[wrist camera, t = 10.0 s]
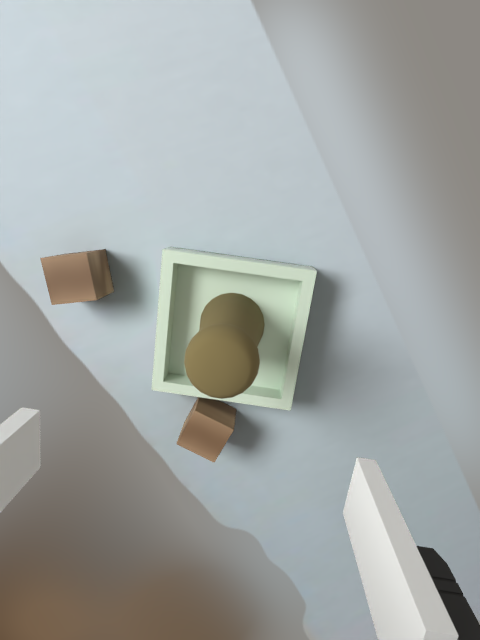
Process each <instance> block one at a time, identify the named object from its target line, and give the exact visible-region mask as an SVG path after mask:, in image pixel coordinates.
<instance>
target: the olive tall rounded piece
mask: <svg viewBox="0 0 480 640" xmlns="http://www.w3.org/2000/svg"><path fill="white" fill-rule="evenodd" d="M264 327H265V323H264V316H263V314H262V312H261V310H260V308H259V306H258V305H257V304H256V303H255V302H254V301H253V300H252V299H251V298H249V297H247V296H245V295H243V294H238V293H226V294H221V295H219V296H217V297H215V298H213V299H212V300H211V301H210V302H209V303H208V304H207V305H206V306H205V308H204V310H203V312H202V314H201V319H200V328H199V332H198V333H197V334H196V335H195V336H194V337H193V338H192V339H191V340H190V342H189V344H188V346H187V349H186V351H185V359H184V365H185V369H186V374H187V376H188V378H189V380H190V382H191V383H192V385H193V386H194V387H195V388H197V389H198V390H199V391H200V392H201V393H203V394H205V395H208V396H210V397H214V398H220V399H224V398H232V397H235V396H237V395H239V394H241V393H243V392H244V391H245V390H247V389H248V388H249V387H250V386H251V385H252V383H253V382H254V380H255V378H256V376H257V374H258V371H259V365H260V358H259V352H258V348H257V347H258V345H259V342H260V340H261V338H262V336H263V332H264Z"/></svg>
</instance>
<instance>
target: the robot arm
mask: <svg viewBox="0 0 480 640" xmlns="http://www.w3.org/2000/svg"><path fill="white" fill-rule="evenodd" d="M40 465H41V462H40V410H35V409H29V408H20V409H19V410H18V411H17V412H15V413H14V414H13V415H12V416H10V417H9V418H8V419H7V420H5V421H4V422H3V423H1V424H0V512H1V511H2V510H3V509H4V508H5V507H6V506H7V504H8V503H9V502H10V501H11V500H12V499H13V498H14V497H15V495H16V494H17V493H18V492H19V491H20V490H21V489H22V488H23V486H24V485H25V484H26V483H27V482H28V481H29V480H30V478H31V477H32V476H33V475H34V474H35V473H36V472H37V470H38V469H39V468H40V467H41V466H40ZM343 515H344V518H345V522H346V525H347V529H348V533H349V536H350V540H351V543H352V547H353V551H354V554H355V558H356V561H357V565H358V569H359V572H360V576H361V579H362V583H363V587H364V590H365V594H366V598H367V601H368V605H369V608H370V612H371V616H372V619H373V623H374V626H375V630H376V634H377V637H378V640H480V625H479V623H478V621H477V619H476V617H475V615H474V613H473V611H472V610H471V608H470V606H469V604H468V602H467V600H466V598H465V597H463V593H462V591H461V589H460V587H459V585H458V583H456V580H455V578H454V576H453V574H452V572H451V570H450V569H449V567H448V565H447V563H446V562H445V561H444V560H443V559H442V558H441V557H440V556H439V555H438V553H437V552H436V551H435V550H434V549H433V548H426V547H420V546H416V544H415V542H414V540H413V538H412V536H411V534H410V532H409V529H408V527H407V525H406V523H405V521H404V519H403V517H402V515H401V513H400V510H399V508H398V506H397V504H396V502H395V500H394V498H393V496H392V493H391V491H390V489H389V487H388V485H387V483H386V481H385V479H384V476H383V474H382V472H381V470H380V468H379V466H378V464H377V462H376V460H372V459H365V458H358V457H357V459H356V463H355V467H354V471H353V475H352V479H351V483H350V487H349V491H348V495H347V499H346V503H345V507H344V511H343Z"/></svg>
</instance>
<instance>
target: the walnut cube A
mask: <svg viewBox="0 0 480 640" xmlns="http://www.w3.org/2000/svg"><path fill="white" fill-rule="evenodd" d="M40 259H41V263H42V267H43V271H44V275H45V279H46V283H47V287H48V291H49V295H50V299H51V303H52V305H55V304H65V303H74V302H84V301H93V300H98V299H100V298H102V297H104V296H106V295H108V294H110V293H112V292H114V289H113V284H112V279H111V274H110V269H109V264H108V259H107V254H106V250H105V249H103V250H95V251H86V252H78V253H69V254H62V255H56V256H50V257H45V258H40Z"/></svg>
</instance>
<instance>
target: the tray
mask: <svg viewBox="0 0 480 640" xmlns="http://www.w3.org/2000/svg"><path fill="white" fill-rule="evenodd" d="M316 273H317V271H316V270H315V269H314V268H313V267H311V266H304V265H297V264H290V263H283V262H276V261H268V260H261V259H254V258H247V257H240V256H233V255H226V254H219V253H212V252H205V251H197V250H190V249H183V248H176V247H168V248H165V249H163V250H162V263H161V276H160V289H159V301H158V314H157V327H156V340H155V353H154V366H153V378H152V390H154V391H161V392H168V393H175V394H181V395H188V396H195V397H202V398H209V399H215V400H222V401H229V402H236V403H243V404H249V405H256V406H263V407H270V408H276V409H283V410H290V411H291V406H292V400H293V395H294V390H295V384H296V379H297V374H298V368H299V363H300V358H301V353H302V347H303V342H304V337H305V331H306V326H307V321H308V315H309V310H310V305H311V300H312V294H313V289H314V284H315V278H316ZM226 293H238V294H243V295H245V296H247V297H249V298H251V299H252V300H253V301H254V302H255V303H256V304H257V305H258V306H259V308H260V310H261V312H262V314H263V316H264V323H265V327H264V332H263V336H262V338H261V340H260V342H259V345H258V347H257V348H258V352H259V358H260V365H259V371H258V374H257V376H256V378H255V380H254V382H253V383H252V385H251V386H250V387H249V388H248V389H247V390H245V391H244V392H243V393H241V394H239V395H237V396H235V397H232V398H224V399H220V398H214V397H210V396H208V395H205V394H203V393H201V392H200V391H199V390H198V389H197V388H195V387H194V386H193V385H192V383H191V382H190V380H189V378H188V376H187V374H186V369H185V365H184V359H185V351H186V349H187V346H188V344H189V342H190V340H191V339H192V338H193V337H194V336H195V335H196V334H197V333H198V332H199V328H200V319H201V314H202V312H203V310H204V308H205V306H206V305H207V304H208V303H209V302H210V301H211V300H212V299H213V298H215V297H217V296H219V295H221V294H226Z"/></svg>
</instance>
